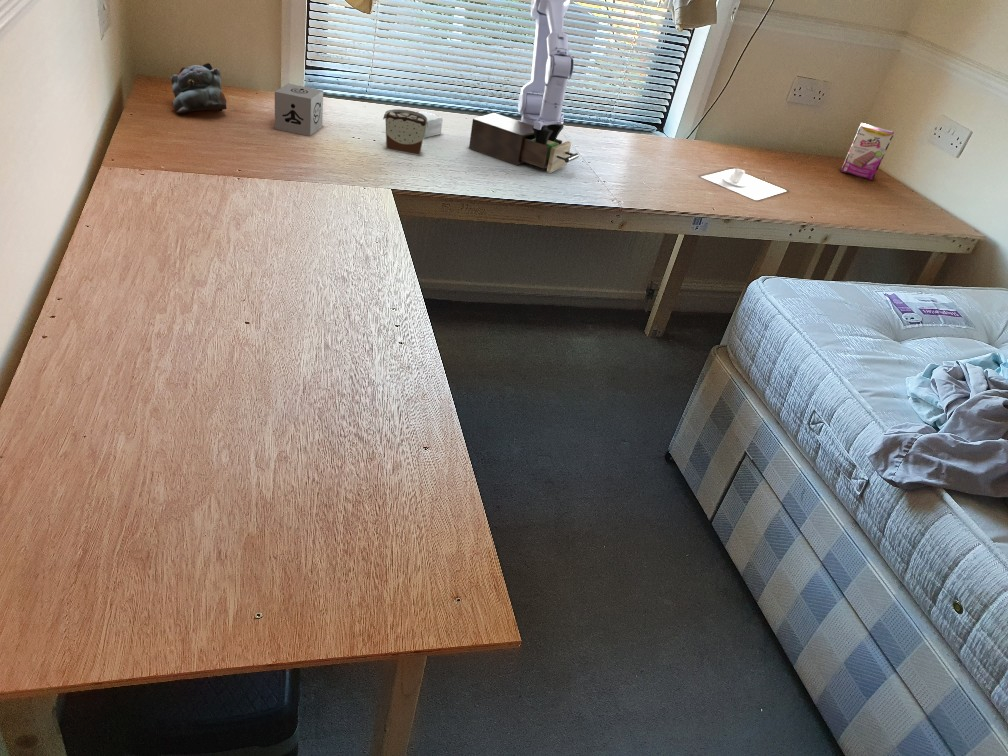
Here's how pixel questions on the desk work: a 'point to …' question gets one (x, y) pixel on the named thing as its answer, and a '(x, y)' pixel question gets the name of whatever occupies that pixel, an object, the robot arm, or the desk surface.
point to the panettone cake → (405, 130)
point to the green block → (550, 144)
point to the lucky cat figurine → (198, 89)
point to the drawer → (546, 154)
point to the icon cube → (298, 109)
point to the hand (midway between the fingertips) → (543, 150)
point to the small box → (432, 124)
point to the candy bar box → (867, 151)
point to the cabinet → (499, 137)
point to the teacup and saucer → (744, 184)
